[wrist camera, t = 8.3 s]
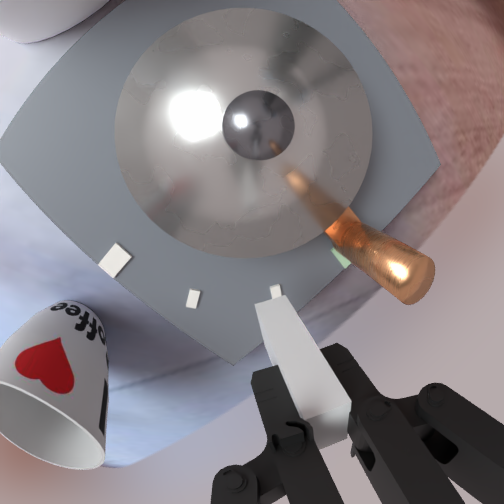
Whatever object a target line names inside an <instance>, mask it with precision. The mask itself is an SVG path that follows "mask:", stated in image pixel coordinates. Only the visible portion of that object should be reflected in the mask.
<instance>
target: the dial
mask: <svg viewBox="0 0 504 504" xmlns="http://www.w3.org/2000/svg"><path fill="white" fill-rule="evenodd" d="M114 139H115V147H116V155H117V159H118V163H119V166H120V170H121V173H122V176H123V178H124V180H125V182H126V185H127V187H128V189H129V191H130V193H131V194H132V196H133V197H134V199H135V201H136V202H137V204H138V205H139V206H140V208H141V209H142V210H143V211H144V212H145V214H146V215H147V216H148V217H149V218H150V219H151V220H152V221H153V222H154V223H155V224H156V225H157V226H159V227H160V228H161V229H162V230H163V231H164V232H166V233H167V234H169V235H170V236H172V237H173V238H175V239H176V240H178V241H180V242H182V243H184V244H186V245H188V246H190V247H192V248H194V249H197V250H200V251H203V252H206V253H209V254H213V255H218V256H223V257H230V258H260V257H266V256H271V255H276V254H280V253H283V252H286V251H289V250H292V249H294V248H297V247H299V246H301V245H303V244H305V243H307V242H309V241H310V240H312V239H314V238H315V237H317V236H319V235H320V234H321V233H322V232H323V233H324V234H325V235H326V236H327V237H328V238H329V239H330V240H331V241H332V244H333V247H334V249H335V250H336V251H337V252H338V253H339V254H341V255H342V256H343V257H345V258H346V259H347V260H349V261H350V262H351V263H353V264H354V265H355V266H356V267H358V268H359V269H360V270H362V271H363V272H364V273H366V274H367V275H368V276H370V277H371V278H372V279H373V280H375V281H376V282H377V283H379V284H380V285H381V286H382V287H384V288H385V289H386V290H387V291H389V292H390V293H391V294H392V295H394V296H395V297H397V299H399V300H400V301H401V302H402V303H404V304H406V305H411V304H414V303H416V302H418V301H419V300H420V299H422V298H423V297H424V295H425V294H426V293H427V292H428V290H429V289H430V287H431V285H432V282H433V279H434V275H435V265H434V262H433V260H432V259H431V258H429V257H428V256H426V255H424V254H422V253H421V252H419V251H417V250H415V249H413V248H411V247H410V246H408V245H406V244H404V243H402V242H400V241H398V240H396V239H394V238H393V237H391V236H389V235H387V234H385V233H383V232H381V231H379V230H377V229H375V228H373V227H371V226H369V225H367V224H365V223H363V222H361V221H360V220H359V218H358V217H357V216H356V215H355V213H354V212H353V211H352V210H351V208H350V207H349V205H350V204H351V202H352V201H353V199H354V197H355V196H356V194H357V192H358V191H359V188H360V186H361V184H362V182H363V179H364V177H365V174H366V171H367V168H368V164H369V160H370V155H371V149H372V118H371V113H370V107H369V103H368V100H367V96H366V93H365V90H364V88H363V86H362V83H361V81H360V79H359V77H358V75H357V73H356V72H355V70H354V68H353V67H352V65H351V64H350V62H349V61H348V60H347V58H346V57H345V56H344V55H343V53H342V52H341V51H340V50H339V49H338V48H337V47H336V46H335V45H334V44H333V43H332V42H331V41H330V40H329V39H328V38H326V37H325V36H324V35H322V34H321V33H320V32H318V31H317V30H316V29H314V28H312V27H311V26H309V25H307V24H305V23H304V22H302V21H300V20H297V19H295V18H292V17H290V16H288V15H285V14H281V13H278V12H274V11H270V10H264V9H256V8H230V9H222V10H216V11H212V12H208V13H204V14H201V15H198V16H196V17H193V18H191V19H188V20H186V21H184V22H182V23H180V24H179V25H177V26H175V27H173V28H172V29H170V30H169V31H167V32H166V33H165V34H163V35H162V36H161V37H160V38H158V39H157V40H156V41H155V42H154V43H153V44H152V45H151V46H150V47H149V48H148V49H147V50H146V51H145V52H144V53H143V54H142V56H141V57H140V58H139V60H138V61H137V62H136V64H135V65H134V67H133V68H132V70H131V72H130V74H129V76H128V78H127V80H126V82H125V84H124V86H123V89H122V92H121V95H120V98H119V101H118V105H117V110H116V116H115V134H114Z"/></svg>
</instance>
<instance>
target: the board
mask: <svg viewBox="0 0 504 504" xmlns="http://www.w3.org/2000/svg"><path fill="white" fill-rule="evenodd" d="M230 8H256V9H264V10H270V11H274V12H278V13H281V14H285V15H288V16H290V17H292V18H295V19H297V20H300V21H302V22H304V23H305V24H307V25H309V26H311V27H312V28H314V29H316V30H317V31H318V32H320V33H321V34H322V35H324V36H325V37H326V38H328V39H329V40H330V41H331V42H332V43H333V44H334V45H335V46H336V47H337V48H338V49H339V50H340V51H341V52H342V53H343V55H344V56H345V57H346V58H347V60H348V61H349V62H350V64H351V65H352V67H353V68H354V70H355V72H356V73H357V75H358V77H359V79H360V81H361V83H362V86H363V88H364V90H365V93H366V96H367V100H368V103H369V107H370V113H371V118H372V149H371V155H370V160H369V164H368V168H367V171H366V174H365V177H364V179H363V182H362V184H361V186H360V188H359V191H358V192H357V194H356V196H355V197H354V199H353V201H352V202H351V204H350V205H349V207H350V208H351V210H352V211H353V212H354V213H355V215H356V216H357V217H358V218H359V220H360V221H361V222H363V223H365V224H367V225H369V226H371V227H373V228H375V229H377V230H379V231H382V230H383V229H384V228H385V227H386V226H387V225H388V224H389V223H390V222H391V221H392V220H393V219H394V217H395V216H396V215H397V214H398V213H399V212H400V211H401V210H402V209H403V208H404V207H405V205H406V204H407V203H408V202H409V201H410V200H411V199H412V198H413V197H414V195H415V194H416V193H417V192H418V191H419V190H420V189H421V187H422V186H423V185H424V184H425V183H426V182H427V180H428V179H429V178H430V177H431V176H432V175H433V173H434V172H435V171H436V170H437V169H438V167H439V166H440V165H441V164H440V161H439V159H438V156H437V154H436V152H435V150H434V147H433V145H432V143H431V141H430V139H429V136H428V134H427V132H426V130H425V128H424V126H423V124H422V122H421V120H420V118H419V116H418V115H417V113H416V111H415V109H414V107H413V105H412V104H411V102H410V100H409V98H408V97H407V95H406V93H405V91H404V90H403V88H402V86H401V85H400V83H399V82H398V80H397V78H396V77H395V75H394V74H393V72H392V71H391V69H390V68H389V66H388V65H387V63H386V62H385V60H384V59H383V57H382V56H381V54H380V53H379V52H378V50H377V49H376V47H375V46H374V45H373V43H372V42H371V41H370V39H369V38H368V37H367V36H366V34H365V33H364V32H363V31H362V29H361V28H360V27H359V26H358V24H357V23H356V22H355V21H354V20H353V18H352V17H351V16H350V15H349V14H348V13H347V11H346V10H345V9H344V8H343V7H342V6H341V5H340V4H339V3H338V2H337V1H336V0H125V1H124V2H123V3H121V4H120V5H119V6H117V7H116V8H115V9H114V10H112V11H111V12H110V13H109V14H107V15H106V16H105V17H104V18H102V19H101V20H100V21H99V22H98V23H97V24H95V25H94V26H93V27H92V28H91V29H90V30H89V31H88V32H87V33H85V34H84V35H83V36H82V37H81V38H80V39H79V40H78V41H77V42H76V43H75V44H74V45H73V46H72V47H71V48H70V49H69V50H68V51H67V52H66V53H65V54H64V55H63V56H62V57H61V58H60V60H59V61H58V62H57V63H56V64H55V65H54V66H53V67H52V68H51V70H50V71H49V72H48V73H47V74H46V75H45V77H44V78H43V79H42V80H41V82H40V83H39V84H38V85H37V87H36V88H35V89H34V90H33V92H32V93H31V94H30V96H29V97H28V98H27V100H26V101H25V102H24V104H23V105H22V107H21V108H20V109H19V111H18V112H17V114H16V115H15V117H14V118H13V120H12V121H11V123H10V124H9V126H8V128H7V129H6V131H5V132H4V134H3V136H2V137H1V139H0V163H1V165H2V166H3V167H4V168H5V169H6V171H7V172H8V173H9V174H10V176H11V177H12V178H13V179H14V180H15V181H16V183H17V184H18V185H19V186H20V187H21V188H22V190H23V191H24V192H25V193H26V194H27V195H28V196H29V197H30V199H31V200H32V201H33V202H34V203H35V204H36V205H37V206H38V207H39V208H40V209H41V210H42V211H43V212H44V214H45V215H46V216H47V217H48V218H49V219H50V220H51V221H52V222H53V223H54V224H55V225H56V226H57V227H58V228H59V229H60V230H61V231H62V232H63V233H64V234H65V235H66V236H67V237H68V238H69V239H70V240H72V241H73V242H74V243H75V244H76V245H77V246H78V247H79V248H80V249H81V250H82V251H83V252H84V253H85V254H86V255H88V256H89V257H90V258H91V259H92V260H93V261H94V262H95V263H96V264H98V265H99V266H100V267H101V268H102V269H103V270H104V271H105V272H107V273H108V274H109V275H110V276H111V277H112V278H114V279H115V280H116V281H117V282H119V283H120V284H121V285H122V286H123V287H125V288H126V289H127V290H128V291H129V292H131V293H132V294H133V295H134V296H136V297H137V298H138V299H139V300H141V301H142V302H143V303H145V304H146V305H147V306H148V307H150V308H151V309H152V310H154V311H155V312H156V313H158V314H159V315H160V316H162V317H163V318H164V319H166V320H167V321H168V322H170V323H171V324H172V325H174V326H175V327H177V328H178V329H179V330H181V331H182V332H184V333H185V334H186V335H188V336H189V337H191V338H192V339H194V340H195V341H197V342H198V343H199V344H201V345H202V346H204V347H205V348H207V349H208V350H210V351H211V352H213V353H214V354H216V355H217V356H219V357H221V358H222V359H224V360H225V361H227V362H228V363H230V364H232V365H233V366H234V365H235V364H236V363H237V362H239V361H240V360H241V359H242V358H244V357H245V356H246V355H247V354H249V353H250V352H251V351H252V350H254V349H255V348H256V347H257V346H258V345H260V344H261V343H262V342H263V341H264V340H263V336H262V332H261V328H260V324H259V320H258V316H257V312H256V308H255V304H257V303H260V302H264V301H267V300H270V299H274V298H277V297H280V296H283V295H286V297H287V298H288V300H289V301H290V303H291V305H292V306H293V308H294V309H295V311H296V313H297V312H298V311H299V310H300V309H302V308H303V307H304V306H305V305H306V304H307V303H308V302H309V301H310V300H311V299H313V298H314V297H315V296H316V295H317V294H318V293H319V292H320V291H321V290H322V289H323V288H325V287H326V286H327V285H328V284H329V283H330V282H331V281H332V280H333V279H334V278H335V277H336V276H337V275H338V274H339V273H340V272H341V271H342V270H343V269H344V268H345V269H346V268H347V267H348V266H349V265H350V264H351V262H350V261H349V260H347V259H346V258H345V257H343V256H342V255H341V254H339V253H338V252H337V251H336V250H335V249H334V247H333V244H332V241H331V240H330V239H329V238H328V237H327V236H326V235H325V234H324V233H323V232H322V233H321V234H320V235H319V236H317V237H315V238H314V239H312V240H310V241H309V242H307V243H305V244H303V245H301V246H299V247H297V248H294V249H292V250H289V251H286V252H283V253H280V254H276V255H271V256H266V257H260V258H230V257H223V256H218V255H213V254H209V253H206V252H203V251H200V250H197V249H194V248H192V247H190V246H188V245H186V244H184V243H182V242H180V241H178V240H176V239H175V238H173V237H172V236H170V235H169V234H167V233H166V232H164V231H163V230H162V229H161V228H160V227H159V226H157V225H156V224H155V223H154V222H153V221H152V220H151V219H150V218H149V217H148V216H147V215H146V214H145V212H144V211H143V210H142V209H141V208H140V206H139V205H138V204H137V202H136V201H135V199H134V197H133V196H132V194H131V193H130V191H129V189H128V187H127V185H126V182H125V180H124V178H123V176H122V173H121V170H120V166H119V163H118V159H117V155H116V147H115V139H114V134H115V116H116V110H117V105H118V101H119V98H120V95H121V92H122V89H123V86H124V84H125V82H126V80H127V78H128V76H129V74H130V72H131V70H132V68H133V67H134V65H135V64H136V62H137V61H138V60H139V58H140V57H141V56H142V54H143V53H144V52H145V51H146V50H147V49H148V48H149V47H150V46H151V45H152V44H153V43H154V42H155V41H156V40H157V39H158V38H160V37H161V36H162V35H163V34H165V33H166V32H167V31H169V30H170V29H172V28H173V27H175V26H177V25H179V24H180V23H182V22H184V21H186V20H188V19H191V18H193V17H196V16H198V15H201V14H204V13H208V12H212V11H216V10H222V9H230Z"/></svg>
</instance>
